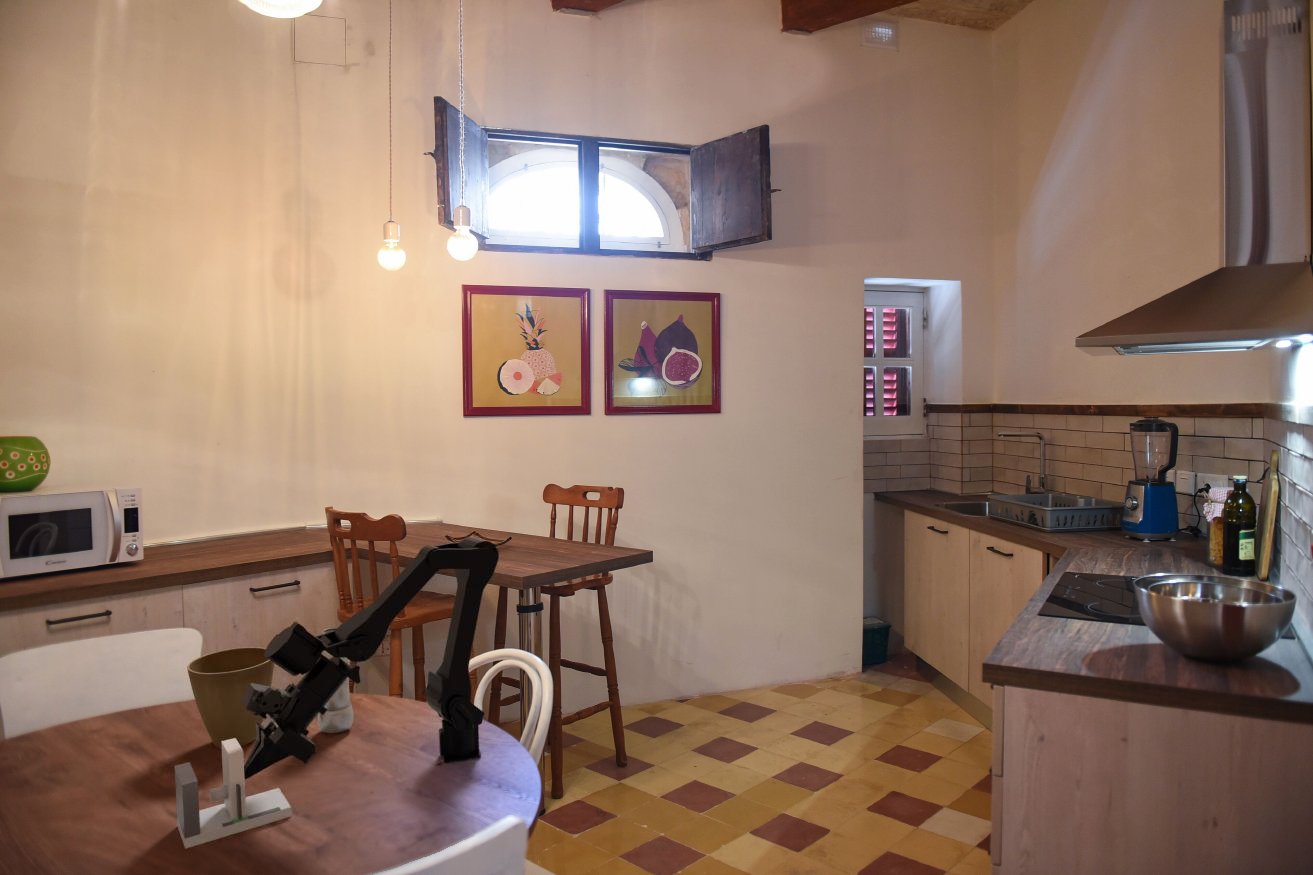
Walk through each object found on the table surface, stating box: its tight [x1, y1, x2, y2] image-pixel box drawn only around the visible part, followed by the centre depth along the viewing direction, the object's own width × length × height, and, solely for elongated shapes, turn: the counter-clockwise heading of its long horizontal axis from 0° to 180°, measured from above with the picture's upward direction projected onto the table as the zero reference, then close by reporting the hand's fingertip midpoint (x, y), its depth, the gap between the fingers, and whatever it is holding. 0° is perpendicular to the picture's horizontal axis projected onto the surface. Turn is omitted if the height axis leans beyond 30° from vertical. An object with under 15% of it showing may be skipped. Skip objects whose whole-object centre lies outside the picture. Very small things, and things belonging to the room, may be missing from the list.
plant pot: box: [186, 646, 275, 749], centre depth 156 cm, size 15×15×16 cm
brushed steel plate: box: [174, 761, 200, 839], centre depth 122 cm, size 2×8×8 cm, turn 37°
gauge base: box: [176, 787, 292, 850], centre depth 126 cm, size 14×8×2 cm, turn 127°
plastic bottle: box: [317, 627, 355, 734], centre depth 160 cm, size 6×7×20 cm
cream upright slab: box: [209, 738, 246, 820], centre depth 125 cm, size 4×7×10 cm, turn 37°
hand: (242, 777), depth 127 cm, fingers closed
